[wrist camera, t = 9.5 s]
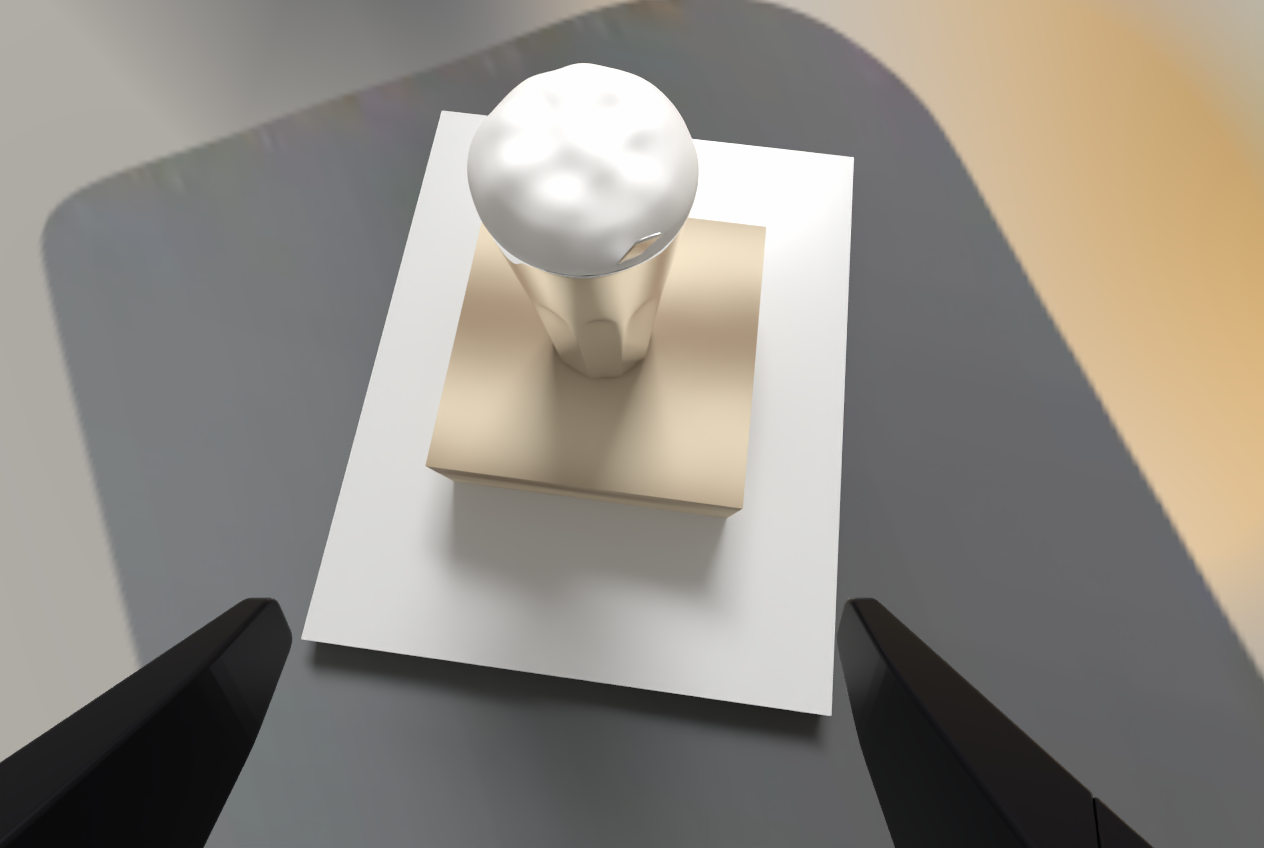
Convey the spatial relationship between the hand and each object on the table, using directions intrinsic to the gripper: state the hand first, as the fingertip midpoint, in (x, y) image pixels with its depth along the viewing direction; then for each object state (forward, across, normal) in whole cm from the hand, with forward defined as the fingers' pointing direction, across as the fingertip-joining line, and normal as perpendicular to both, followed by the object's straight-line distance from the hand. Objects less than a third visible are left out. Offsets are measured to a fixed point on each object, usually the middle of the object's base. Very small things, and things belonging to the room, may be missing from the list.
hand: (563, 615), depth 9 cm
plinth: (+14, 0, +3) cm, 15 cm away
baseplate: (+14, 0, +3) cm, 15 cm away
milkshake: (+12, 0, 0) cm, 12 cm away
